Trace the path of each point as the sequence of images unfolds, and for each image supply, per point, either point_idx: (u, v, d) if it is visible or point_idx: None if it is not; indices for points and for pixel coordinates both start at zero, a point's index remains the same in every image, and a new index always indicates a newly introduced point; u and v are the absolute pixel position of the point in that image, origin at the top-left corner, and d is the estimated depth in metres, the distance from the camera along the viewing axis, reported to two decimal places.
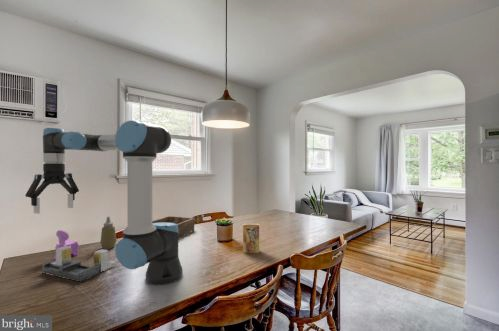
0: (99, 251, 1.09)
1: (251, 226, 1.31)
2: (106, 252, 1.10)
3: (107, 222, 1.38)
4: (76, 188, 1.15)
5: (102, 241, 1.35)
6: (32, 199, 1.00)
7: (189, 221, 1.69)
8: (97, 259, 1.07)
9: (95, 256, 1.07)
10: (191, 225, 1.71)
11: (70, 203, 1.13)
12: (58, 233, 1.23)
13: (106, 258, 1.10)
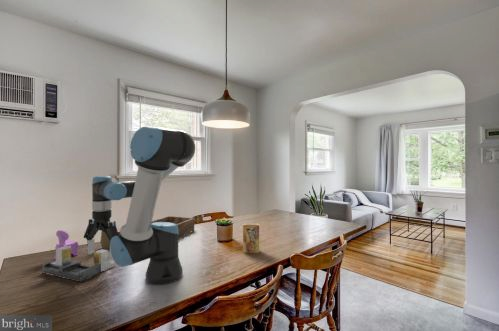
0: (99, 251, 1.09)
1: (251, 226, 1.31)
2: (106, 252, 1.10)
3: None
4: None
5: (102, 241, 1.35)
6: None
7: (189, 221, 1.69)
8: (97, 259, 1.07)
9: (96, 256, 1.07)
10: (191, 225, 1.71)
11: None
12: (58, 233, 1.23)
13: (106, 258, 1.10)
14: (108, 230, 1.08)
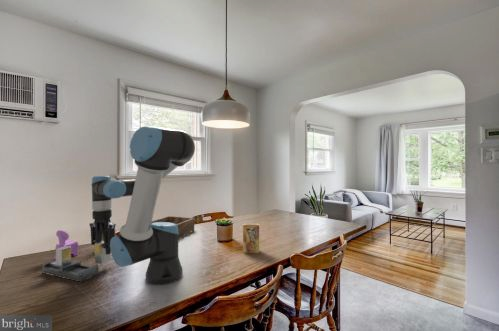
0: (100, 242, 1.09)
1: (251, 226, 1.31)
2: None
3: None
4: (108, 242, 1.07)
5: None
6: None
7: (189, 221, 1.69)
8: (98, 250, 1.07)
9: (96, 247, 1.07)
10: (191, 225, 1.71)
11: None
12: (58, 233, 1.23)
13: None
14: (106, 232, 1.09)
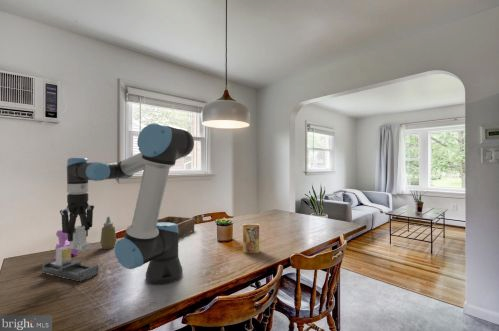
0: (77, 226, 1.05)
1: (251, 226, 1.31)
2: (74, 229, 1.03)
3: (107, 222, 1.38)
4: None
5: (102, 241, 1.35)
6: None
7: (189, 221, 1.69)
8: None
9: None
10: (191, 225, 1.71)
11: None
12: (58, 233, 1.23)
13: None
14: (71, 217, 1.02)
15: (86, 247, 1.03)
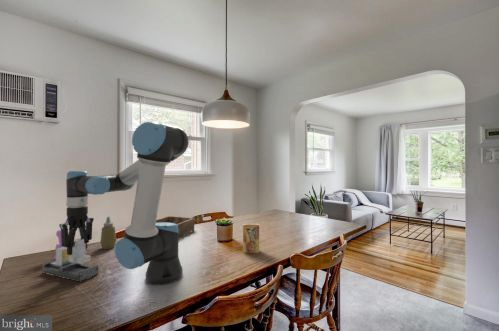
0: (76, 239, 1.05)
1: (251, 226, 1.31)
2: (73, 243, 1.03)
3: (107, 222, 1.38)
4: None
5: (102, 241, 1.35)
6: None
7: (189, 221, 1.69)
8: None
9: None
10: (191, 225, 1.71)
11: None
12: (58, 233, 1.23)
13: None
14: (70, 230, 1.02)
15: (85, 260, 1.03)
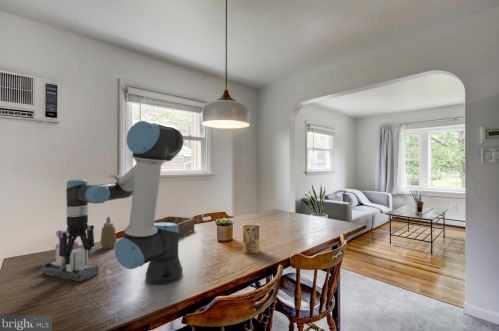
0: (76, 249, 1.05)
1: (251, 226, 1.31)
2: (73, 253, 1.03)
3: (107, 222, 1.38)
4: None
5: (102, 241, 1.35)
6: None
7: (189, 221, 1.69)
8: None
9: None
10: (191, 225, 1.71)
11: None
12: (58, 233, 1.23)
13: (73, 260, 1.03)
14: (69, 239, 1.02)
15: None
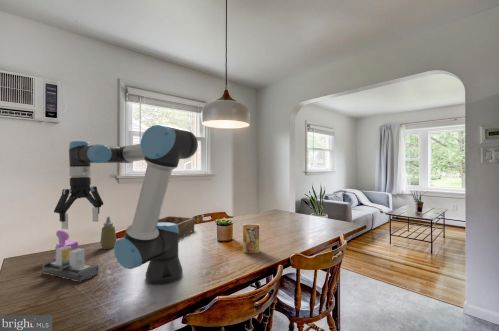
0: (76, 249, 1.05)
1: (251, 226, 1.31)
2: (73, 253, 1.03)
3: (107, 222, 1.38)
4: None
5: (102, 241, 1.35)
6: None
7: (189, 221, 1.69)
8: None
9: None
10: (191, 225, 1.71)
11: None
12: (58, 233, 1.23)
13: (73, 260, 1.03)
14: (70, 198, 1.01)
15: None
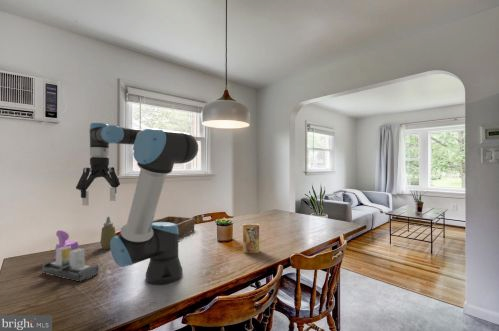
0: (76, 249, 1.05)
1: (251, 226, 1.31)
2: (73, 253, 1.03)
3: (107, 222, 1.38)
4: None
5: (102, 241, 1.35)
6: None
7: (189, 221, 1.69)
8: None
9: None
10: (191, 225, 1.71)
11: None
12: (58, 233, 1.23)
13: (73, 260, 1.03)
14: (90, 177, 1.07)
15: None
